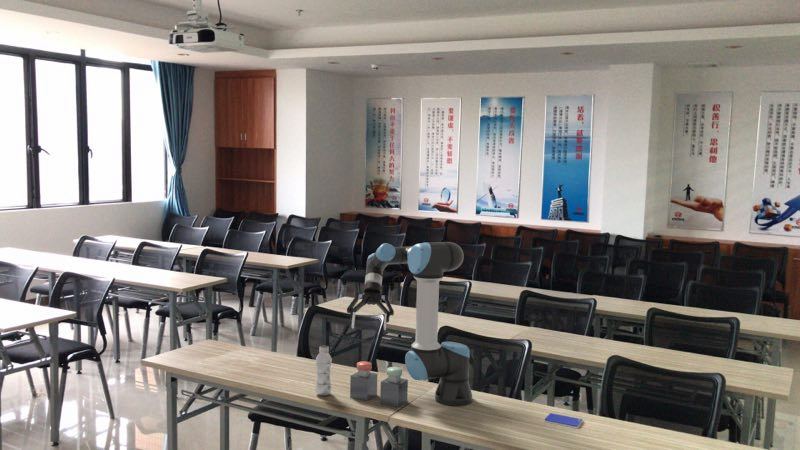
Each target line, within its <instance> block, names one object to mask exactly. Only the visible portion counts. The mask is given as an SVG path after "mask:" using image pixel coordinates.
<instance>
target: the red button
mask: <svg viewBox="0 0 800 450" xmlns="http://www.w3.org/2000/svg"><path fill="white" fill-rule="evenodd" d="M372 365H373V363H372V362H370V361H364V360H363V361H359V362H357V363H356V369H357V372H358V376H363V377H367V376H369V375H370V373H371V370H372V368H373V367H372Z"/></svg>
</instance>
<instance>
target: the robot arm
mask: <svg viewBox="0 0 800 450" xmlns="http://www.w3.org/2000/svg"><path fill="white" fill-rule="evenodd" d="M464 257H465V255H464V250H463V249H462V247H461V246H460V245H459V244H457V243H455V242H452V241H442V242H440V241H438V242H437V241H436V242H422V243H416V244H414V245H411V246H394V245H392V244H389V243H387V242H386V243H385V242H384V243H382V244H381V245H380V246H379V247H378V248H377V249H376V251H375V252H374V253H371V254H370V255H368V257H367V260H366V271H365V278H364V287H363V293H359V292H356V293H355V297H354V298H353V300H351V302H350V304H349V305H348V307H347V308H346V313H347V314H350V315H349V320H350V321H351V329H354V328H355V320H356V313H357V312H358V311H360V309H361V308H363V307H365V306H366V305H368V306H370V305H373V306H375V305H376V306H378V307H379V308H380V310H381V311H382V312H383V313H384V319H383V330H384V331H386V329H387V323H389V322H390V317H391V316H394V315H395V311H394V308H393V307H392V305H391V302H390V301H389V299H388V297H389V296H388V294H386V293H385V294H384V295H382V293H381V292H382V286H383V285H382V284H383V274H384V270H385V268H387V266H389V265H401V264H407V267H408V270H409V271H410V273H412V275H413V278H414V279H415V281H416V306H415V307H416V311H415V313H416V314H415V339H414V340H415V341H414V342H413V343H411V350H408V352H406V354H405V357H404V361H405V362H404V363H405V367H406V370H407V372H408V375H409V376H410V378H412V379H413V380H415V381H427V380H432V379H436V378H439V381H438V383H437V387H436V390H435V392H434V399H435V401H436V402H437V403H439V404H442V405H446V406H454V407H457V406H459V407H460V406H466V405H469V404H471V403H472V402H473V393H472V390H471V386H470V382H469V377H470V376H469V375H470V374H469V373H470V357H471V356H470V355H471V354H470V347H468V345H466V344H463V343H460V342H456V341H455V342H454V341H442V342H441V344H440V343H439V342H438V334H439V333H438V328H439V327H438V325H439V323H438V322H439V299H440V298H439V295H440V294H439V293H440V292H439V291H440V281H441V280H443V278H444V272H445V273H446V272H452V271H454V270H457V269H458V268H459V267H461V265H462V264H463V262H464ZM361 298H362V299H361ZM359 300H361V301H360V302H359V303H358V301H359ZM381 300H382V301H384V302H385V305H386V306H385V305H384V304H383V302H381Z"/></svg>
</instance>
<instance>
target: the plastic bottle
mask: <svg viewBox="0 0 800 450" xmlns="http://www.w3.org/2000/svg"><path fill="white" fill-rule="evenodd" d="M329 349H330V348H329V346H328V345H320V346H319V350H318V354H317V356H316V357H315V366H316V381H315V382H316V383H315V393H316V394H317V395H318V396H329V395H330V394H331V393H332V391H333V389H332V383H331V369H332V368H331V367H332V362H333V361H332V360H333V359H332V356H331V355H330V353H329V351H330V350H329Z"/></svg>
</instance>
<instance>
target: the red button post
mask: <svg viewBox="0 0 800 450" xmlns="http://www.w3.org/2000/svg"><path fill="white" fill-rule="evenodd" d="M349 378H350V381H349V382H350V384H349V385H350V386H349V397H350V398H352V399H355V400H356V399H357V400H361V401H366V402H368V401H369V400H372V399H373V398H374V397H376V396H378V373H374V372H370V375H369V376H367V377H363V376H358V371H357V372H355V373H354V374H351V375H350V377H349Z"/></svg>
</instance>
